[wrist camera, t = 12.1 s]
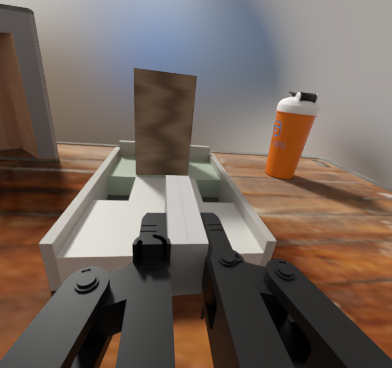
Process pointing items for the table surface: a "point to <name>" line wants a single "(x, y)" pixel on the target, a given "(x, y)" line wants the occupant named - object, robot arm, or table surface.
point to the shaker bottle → (290, 133)
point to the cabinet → (23, 91)
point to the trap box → (137, 208)
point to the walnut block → (163, 121)
